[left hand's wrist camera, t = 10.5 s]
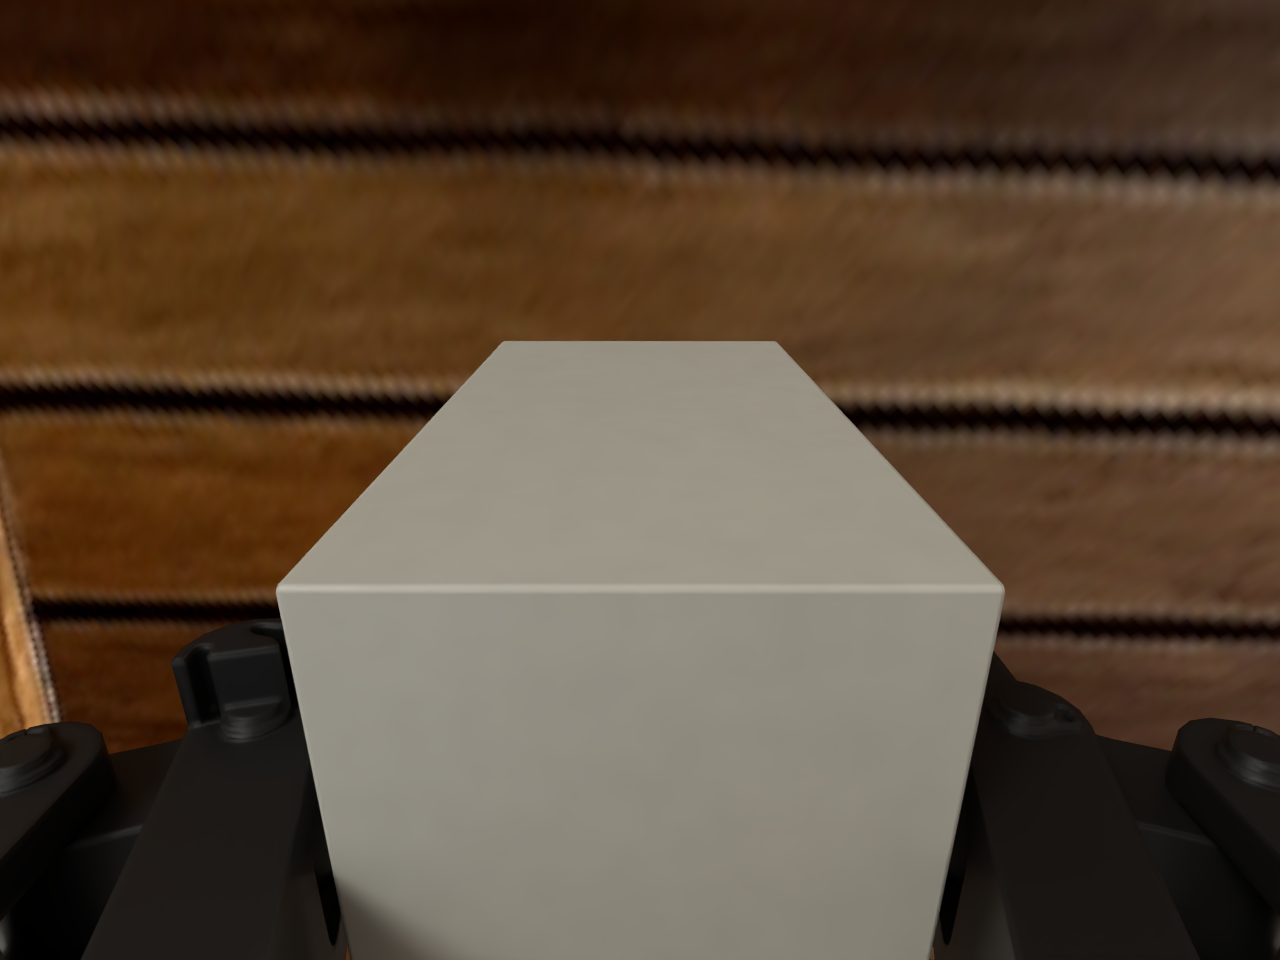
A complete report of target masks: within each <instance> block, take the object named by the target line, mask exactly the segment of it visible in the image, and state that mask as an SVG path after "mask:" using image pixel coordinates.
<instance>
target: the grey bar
mask: <svg viewBox="0 0 1280 960" xmlns="http://www.w3.org/2000/svg"><path fill="white" fill-rule="evenodd" d="M276 595H277V600H278V605H279V609H280V614H281V619H282V624H283V629H284V634H285V639H286V644H287V649H288V654H289V659H290V664H291V669H292V674H293V678H294V683H295V688H296V693H297V698H298V703H299V708H300V713H301V718H302V723H303V728H304V733H305V738H306V743H307V747H308V752H309V757H310V762H311V767H312V772H313V777H314V782H315V787H316V792H317V797H318V802H319V807H320V812H321V817H322V821H323V826H324V831H325V836H326V841H327V846H328V851H329V856H330V861H331V866H332V871H333V876H334V881H335V886H336V890H337V895H338V900H339V905H340V910H341V915H342V920H343V925H344V930H345V935H346V940H347V945H348V950H349V955H350V959H351V960H930V956H931V951H932V946H933V941H934V936H935V931H936V927H937V922H938V917H939V912H940V907H941V902H942V897H943V893H944V888H945V883H946V878H947V873H948V868H949V864H950V859H951V854H952V849H953V844H954V839H955V834H956V830H957V825H958V820H959V815H960V810H961V805H962V800H963V796H964V791H965V786H966V781H967V776H968V771H969V766H970V762H971V757H972V752H973V747H974V742H975V737H976V732H977V728H978V723H979V718H980V713H981V708H982V703H983V698H984V694H985V689H986V684H987V679H988V674H989V669H990V664H991V660H992V655H993V650H994V645H995V640H996V635H997V630H998V626H999V621H1000V616H1001V611H1002V606H1003V601H1004V596H1005V589H1004V585H1003V584H1002V583H1001V582H1000V581H999V580H998V579H997V578H996V577H995V576H994V574H993V573H992V572H991V571H990V570H989V569H988V568H987V567H986V566H985V565H984V564H983V563H982V562H981V561H980V559H979V558H978V557H977V556H976V555H975V554H974V553H973V552H972V551H971V550H970V549H969V548H968V547H967V546H966V544H965V543H964V542H963V541H962V540H961V539H960V538H959V537H958V536H957V535H956V534H955V533H954V532H953V531H952V529H951V528H950V527H949V526H948V525H947V524H946V523H945V522H944V521H943V520H942V519H941V518H940V517H939V516H938V514H937V513H936V512H935V511H934V510H933V509H932V508H931V507H930V506H929V505H928V504H927V503H926V502H925V501H924V499H923V498H922V497H921V496H920V495H919V494H918V493H917V492H916V491H915V490H914V489H913V488H912V487H911V486H910V484H909V483H908V482H907V481H906V480H905V479H904V478H903V477H902V476H901V475H900V474H899V473H898V472H897V470H896V469H895V468H894V467H893V466H892V465H891V464H890V463H889V462H888V461H887V460H886V459H885V458H884V457H883V455H882V454H881V453H880V452H879V451H878V450H877V449H876V448H875V447H874V446H873V445H872V444H871V443H870V442H869V440H868V439H867V438H866V437H865V436H864V435H863V434H862V433H861V432H860V431H859V430H858V429H857V428H856V427H855V425H854V424H853V423H852V422H851V421H850V420H849V419H848V418H847V417H846V416H845V415H844V414H843V413H842V412H841V410H840V409H839V408H838V407H837V406H836V405H835V404H834V403H833V402H832V401H831V400H830V399H829V398H828V397H827V395H826V394H825V393H824V392H823V391H822V390H821V389H820V388H819V387H818V386H817V385H816V384H815V383H814V382H813V380H812V379H811V378H810V377H809V376H808V375H807V374H806V373H805V372H804V371H803V370H802V369H801V368H800V367H799V365H798V364H797V363H796V362H795V361H794V360H793V359H792V358H791V357H790V356H789V355H788V354H787V353H786V351H785V350H784V349H783V348H782V347H781V346H780V345H779V344H778V343H777V342H775V341H504V342H502V343H501V344H500V345H499V347H498V348H497V349H496V350H495V351H494V352H493V353H492V354H491V355H490V356H489V357H488V358H487V359H486V361H485V362H484V363H483V364H482V365H481V366H480V367H479V368H478V369H477V370H476V371H475V372H474V374H473V375H472V376H471V377H470V378H469V379H468V380H467V381H466V382H465V383H464V384H463V385H462V386H461V388H460V389H459V390H458V391H457V392H456V393H455V394H454V395H453V396H452V397H451V398H450V399H449V401H448V402H447V403H446V404H445V405H444V406H443V407H442V408H441V409H440V410H439V411H438V412H437V414H436V415H435V416H434V417H433V418H432V419H431V420H430V421H429V422H428V423H427V424H426V425H425V426H424V428H423V429H422V430H421V431H420V432H419V433H418V434H417V435H416V436H415V437H414V438H413V439H412V441H411V442H410V443H409V444H408V445H407V446H406V447H405V448H404V449H403V450H402V451H401V452H400V453H399V455H398V456H397V457H396V458H395V459H394V460H393V461H392V462H391V463H390V464H389V465H388V466H387V468H386V469H385V470H384V471H383V472H382V473H381V474H380V475H379V476H378V477H377V478H376V479H375V480H374V482H373V483H372V484H371V485H370V486H369V487H368V488H367V489H366V490H365V491H364V492H363V493H362V495H361V496H360V497H359V498H358V499H357V500H356V501H355V502H354V503H353V504H352V505H351V506H350V508H349V509H348V510H347V511H346V512H345V513H344V514H343V515H342V516H341V517H340V518H339V519H338V520H337V522H336V523H335V524H334V525H333V526H332V527H331V528H330V529H329V530H328V531H327V532H326V533H325V535H324V536H323V537H322V538H321V539H320V540H319V541H318V542H317V543H316V544H315V545H314V546H313V547H312V549H311V550H310V551H309V552H308V553H307V554H306V555H305V556H304V557H303V558H302V559H301V560H300V562H299V563H298V564H297V565H296V566H295V567H294V568H293V569H292V570H291V571H290V572H289V573H288V574H287V576H286V577H285V578H284V579H283V580H282V581H281V582H280V583H279V584H278V586H277V590H276Z"/></svg>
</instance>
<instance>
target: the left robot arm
mask: <svg viewBox="0 0 1280 960" xmlns="http://www.w3.org/2000/svg"><path fill="white" fill-rule="evenodd" d="M171 664H172V667H173V671H174V675H175V678H176V682H177V686H178V689H179V693H180V697H181V700H182V704H183V708H184V712H185V715H186V719H187V723H188V726H189V727H188V729H187V731H186V733H185V736H184V738H182V739H178V740H174V741H171V742H167V743H162V744H157V745H152V746H147V747H143V748H138V749H133V750H128V751H123V752H119V753H114V754H108V751H107V748H106V745H105V741H104V738H103V735H102V733H101V732H100V731H99V730H97V729H96V728H95V727H94V726H92V725H91V724H86V723H79V722H72V721H68V722H60V723H51V724H43V725H39V726H34V727H30V728H29V729H27V730H25V729H23V730H20V731H18V732H15V733H12V734H9V735H7V736H6V737H4V738H2V739H0V960H345V959H346V950H347V940H346V935H345V930H344V925H343V920H342V915H341V910H340V905H339V900H338V895H337V890H336V886H335V881H334V876H333V871H332V866H331V861H330V856H329V851H328V846H327V841H326V836H325V831H324V826H323V821H322V817H321V812H320V807H319V802H318V797H317V792H316V787H315V782H314V777H313V772H312V767H311V762H310V757H309V752H308V747H307V743H306V738H305V733H304V728H303V723H302V718H301V713H300V708H299V703H298V698H297V693H296V688H295V683H294V678H293V674H292V669H291V664H290V659H289V654H288V649H287V644H286V639H285V634H284V629H283V624H282V619H279V618H278V619H254V620H249V621H244V622H239V623H235V624H230V625H227V626H225V627H222V628H219V629H217V630H214V631H212V632H209V633H206V634H204V635H202V636H201V637H199V638H198V639H196V640H194V641H193V642H191V643H190V644H188V645H186V646H185V647H183V649H182V650H181V651H180V652H179V653H178V654H177V655H176V656H175V657H174V658H173V660H172V661H171ZM933 948H934V957H935V960H1280V736H1279V735H1277V734H1275V733H1274V732H1272V731H1270V730H1268V729H1265V728H1262V727H1259V726H1252V724H1248V723H1244V722H1240V721H1233V720H1224V719H1216V718H1205V719H1198V720H1191V721H1189V722H1188V723H1186V724H1185V725H1184V726H1182V727H1181V728H1180V729H1179V730H1178V733H1177V736H1176V739H1175V742H1174V745H1173V749H1172V751H1168V750H1163V749H1158V748H1153V747H1148V746H1143V745H1139V744H1134V743H1129V742H1124V741H1119V740H1114V739H1110V738H1107V737H1103V736H1099V735H1096V734H1095V732H1094V730H1093V728H1092V726H1091V724H1090V723H1089V722H1088V720H1087V719H1086V718H1085V717H1084V715H1083V714H1082V713H1081V711H1080V710H1079V709H1077V708H1076V707H1075V706H1073V705H1072V704H1070V703H1069V702H1068V701H1066V700H1065V699H1063V698H1062V697H1061V696H1059V695H1057V694H1054V693H1052V692H1050V691H1048V690H1045V689H1043V688H1041V687H1039V686H1036V685H1032V684H1028V683H1024V682H1020V681H1017V680H1016V679H1015V678H1014V676H1013V675H1012V674H1011V673H1010V671H1009V670H1008V669H1007V667H1006V666H1005V665H1004V664H1003V662H1002V661H1001V660H1000V658H999V657H998V656H997V655H996V653H995V652H994V651H993V655H992V660H991V664H990V669H989V674H988V679H987V684H986V689H985V694H984V698H983V703H982V708H981V713H980V718H979V723H978V728H977V732H976V737H975V742H974V747H973V752H972V757H971V762H970V766H969V771H968V776H967V781H966V786H965V791H964V796H963V800H962V805H961V810H960V815H959V820H958V825H957V830H956V834H955V839H954V844H953V849H952V854H951V859H950V864H949V868H948V873H947V878H946V883H945V888H944V893H943V897H942V902H941V907H940V912H939V917H938V922H937V927H936V931H935V936H934V941H933Z"/></svg>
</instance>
